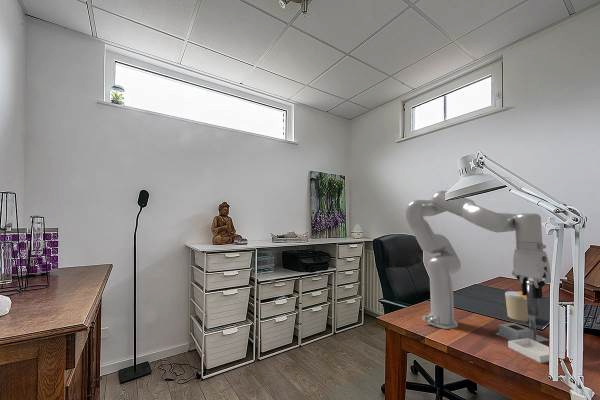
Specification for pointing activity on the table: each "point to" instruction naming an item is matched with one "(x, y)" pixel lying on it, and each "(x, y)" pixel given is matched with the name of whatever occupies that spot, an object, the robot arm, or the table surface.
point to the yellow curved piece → (522, 295)
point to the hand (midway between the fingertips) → (531, 296)
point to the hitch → (520, 331)
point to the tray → (531, 349)
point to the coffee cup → (516, 306)
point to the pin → (531, 299)
